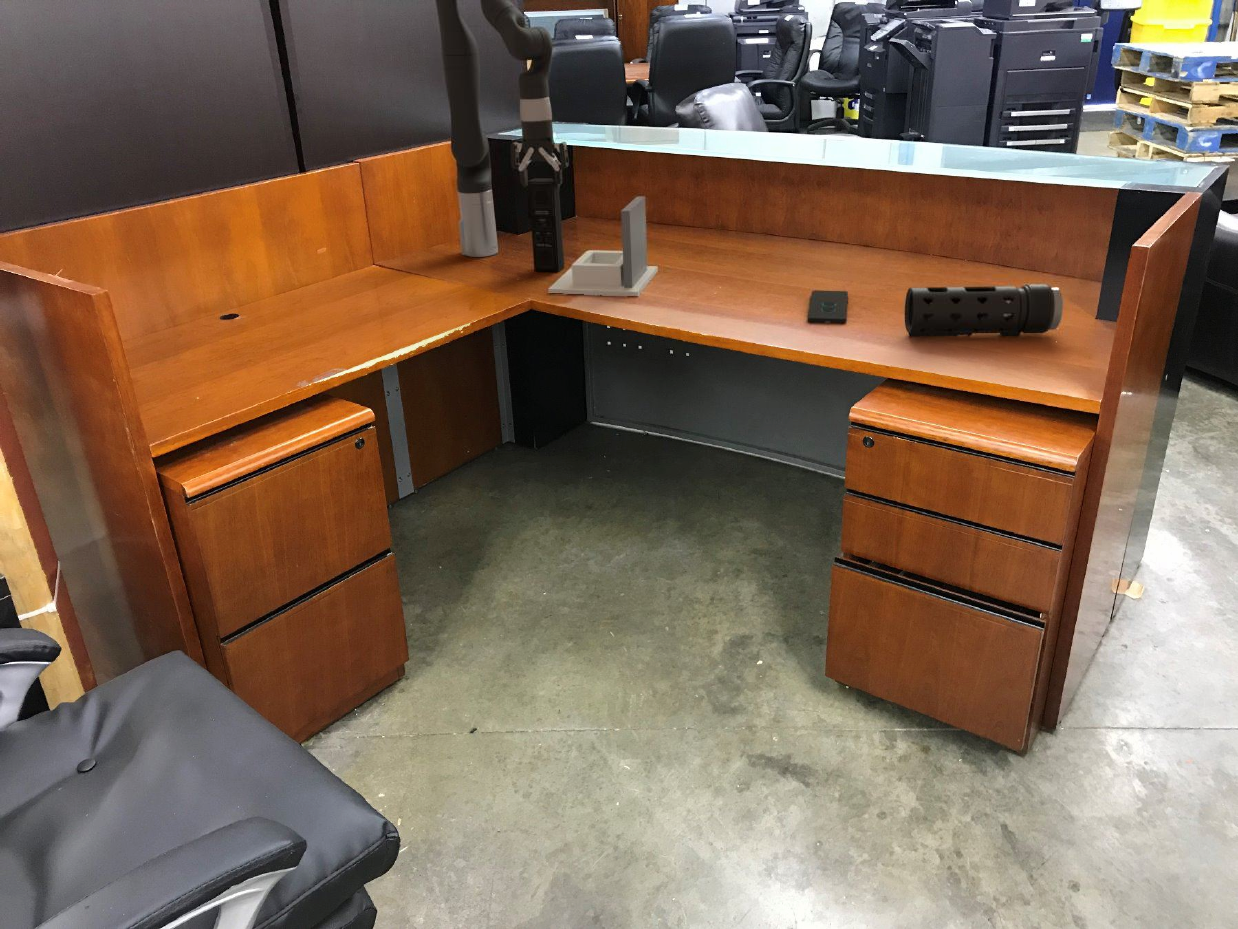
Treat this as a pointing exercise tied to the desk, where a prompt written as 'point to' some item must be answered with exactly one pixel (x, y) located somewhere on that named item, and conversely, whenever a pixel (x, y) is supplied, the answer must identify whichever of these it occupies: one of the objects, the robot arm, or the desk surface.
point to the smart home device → (828, 307)
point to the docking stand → (613, 262)
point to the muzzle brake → (982, 310)
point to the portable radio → (546, 224)
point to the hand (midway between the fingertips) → (541, 185)
